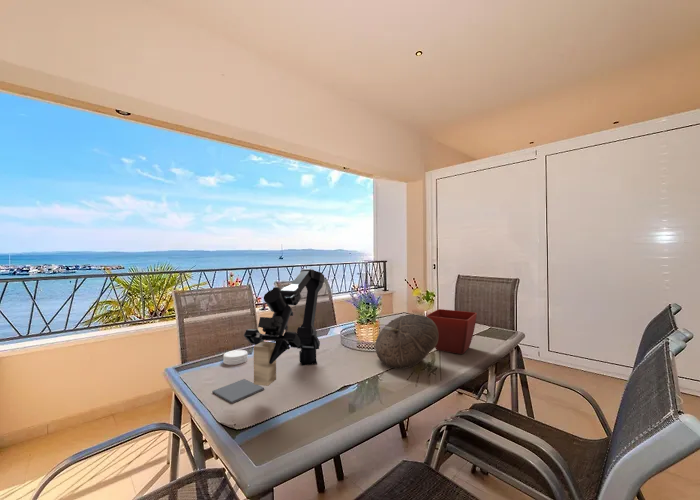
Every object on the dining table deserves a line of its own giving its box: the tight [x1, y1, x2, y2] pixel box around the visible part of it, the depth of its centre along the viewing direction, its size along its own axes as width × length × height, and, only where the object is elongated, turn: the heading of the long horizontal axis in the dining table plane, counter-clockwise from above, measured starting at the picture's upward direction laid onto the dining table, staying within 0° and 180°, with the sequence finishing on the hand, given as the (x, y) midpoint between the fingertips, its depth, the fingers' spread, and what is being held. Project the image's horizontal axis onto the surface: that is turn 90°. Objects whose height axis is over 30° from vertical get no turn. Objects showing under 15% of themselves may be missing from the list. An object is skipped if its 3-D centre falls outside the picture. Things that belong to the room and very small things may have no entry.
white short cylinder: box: [222, 349, 249, 366], centre depth 131 cm, size 10×10×4 cm
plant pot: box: [426, 308, 478, 355], centre depth 145 cm, size 19×19×17 cm
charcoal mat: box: [212, 378, 265, 404], centre depth 102 cm, size 12×12×1 cm
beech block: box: [253, 341, 277, 387], centre depth 96 cm, size 5×5×12 cm
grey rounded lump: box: [375, 314, 439, 369], centre depth 128 cm, size 28×23×25 cm
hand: (262, 362), depth 94 cm, fingers closed on beech block, 5 cm apart
